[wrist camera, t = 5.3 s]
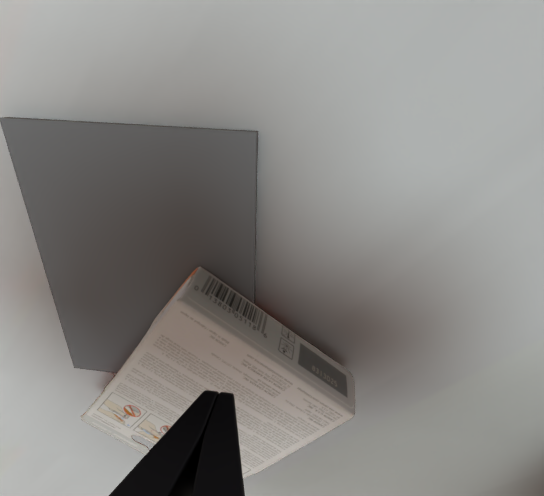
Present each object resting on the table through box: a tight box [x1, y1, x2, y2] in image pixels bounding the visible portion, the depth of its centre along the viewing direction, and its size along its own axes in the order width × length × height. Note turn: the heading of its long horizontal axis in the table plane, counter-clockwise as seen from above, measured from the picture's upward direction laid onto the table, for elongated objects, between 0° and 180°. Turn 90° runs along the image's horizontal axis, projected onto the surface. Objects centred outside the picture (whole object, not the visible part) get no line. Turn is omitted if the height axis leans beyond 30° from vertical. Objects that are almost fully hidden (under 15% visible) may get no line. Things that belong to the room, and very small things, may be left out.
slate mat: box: [0, 117, 258, 373], centre depth 15 cm, size 13×10×1 cm
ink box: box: [81, 267, 355, 479], centre depth 17 cm, size 3×9×12 cm
